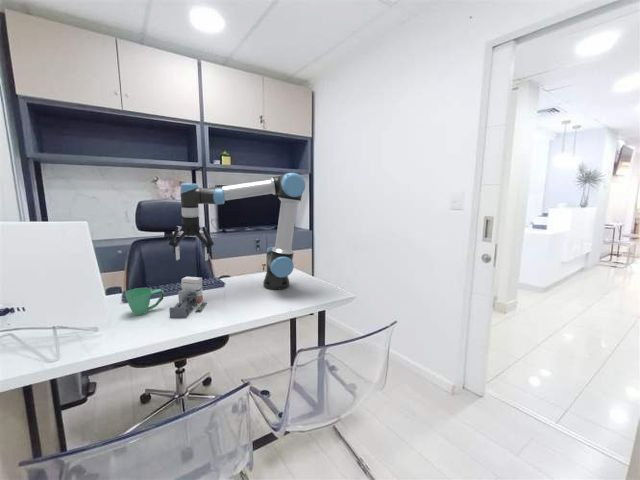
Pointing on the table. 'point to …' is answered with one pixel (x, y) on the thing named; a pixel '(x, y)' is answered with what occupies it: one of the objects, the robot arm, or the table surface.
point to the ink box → (192, 285)
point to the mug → (141, 299)
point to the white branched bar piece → (188, 298)
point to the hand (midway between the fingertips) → (192, 259)
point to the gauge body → (184, 310)
